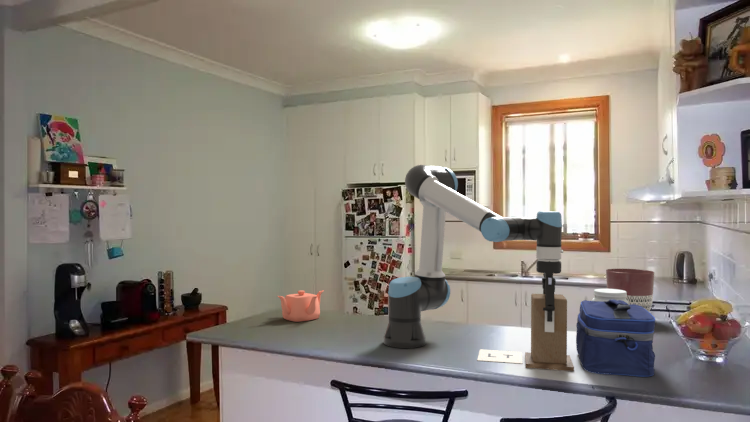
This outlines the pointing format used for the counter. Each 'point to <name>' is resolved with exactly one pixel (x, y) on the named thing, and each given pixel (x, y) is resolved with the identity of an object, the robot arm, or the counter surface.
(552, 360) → the wooden block
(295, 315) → the pot
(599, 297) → the supplement tub
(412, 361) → the counter surface
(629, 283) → the planter
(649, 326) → the lunch bag
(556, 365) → the board
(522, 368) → the counter surface
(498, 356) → the tile
